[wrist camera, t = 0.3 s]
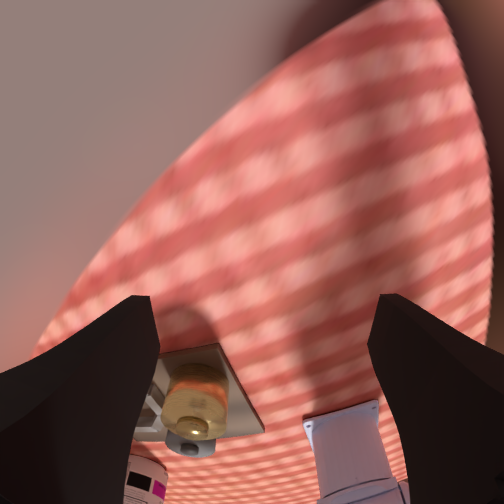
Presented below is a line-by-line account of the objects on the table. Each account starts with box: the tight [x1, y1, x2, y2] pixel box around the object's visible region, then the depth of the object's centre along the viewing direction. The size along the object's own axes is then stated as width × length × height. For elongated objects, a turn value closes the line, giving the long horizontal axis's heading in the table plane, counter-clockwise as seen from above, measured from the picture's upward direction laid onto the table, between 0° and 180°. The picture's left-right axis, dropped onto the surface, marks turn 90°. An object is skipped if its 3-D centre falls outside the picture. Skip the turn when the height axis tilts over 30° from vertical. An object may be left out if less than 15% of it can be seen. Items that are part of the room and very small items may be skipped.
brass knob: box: [160, 363, 229, 440], centre depth 20 cm, size 5×5×5 cm
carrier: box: [133, 343, 265, 457], centre depth 23 cm, size 13×16×4 cm
